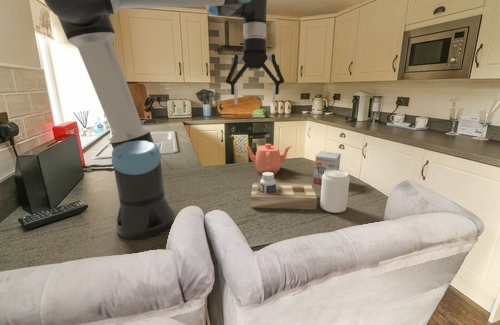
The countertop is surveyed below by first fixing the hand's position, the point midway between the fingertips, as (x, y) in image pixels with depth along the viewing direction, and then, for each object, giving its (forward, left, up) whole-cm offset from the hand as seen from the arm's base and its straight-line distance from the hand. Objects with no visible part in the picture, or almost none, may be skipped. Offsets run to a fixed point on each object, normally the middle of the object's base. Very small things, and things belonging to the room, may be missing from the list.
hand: (254, 104), depth 91 cm
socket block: (-12, -10, -32) cm, 35 cm away
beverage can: (-17, -26, -32) cm, 45 cm away
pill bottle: (-12, -5, -32) cm, 34 cm away
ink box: (+7, -29, -32) cm, 44 cm away
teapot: (+20, -5, -32) cm, 38 cm away
